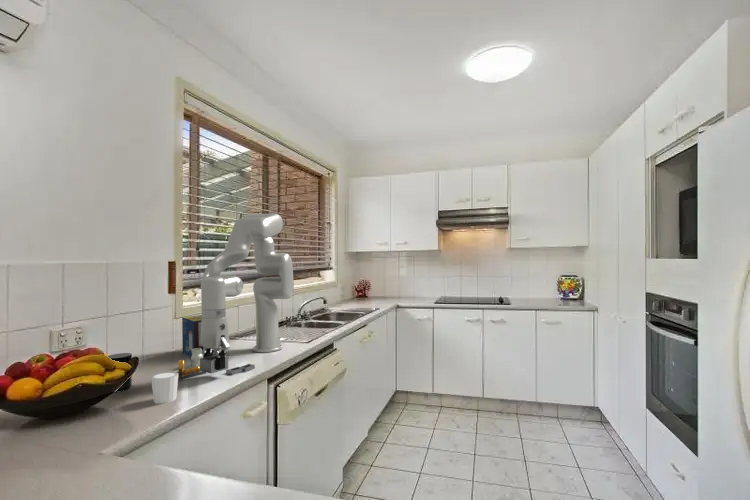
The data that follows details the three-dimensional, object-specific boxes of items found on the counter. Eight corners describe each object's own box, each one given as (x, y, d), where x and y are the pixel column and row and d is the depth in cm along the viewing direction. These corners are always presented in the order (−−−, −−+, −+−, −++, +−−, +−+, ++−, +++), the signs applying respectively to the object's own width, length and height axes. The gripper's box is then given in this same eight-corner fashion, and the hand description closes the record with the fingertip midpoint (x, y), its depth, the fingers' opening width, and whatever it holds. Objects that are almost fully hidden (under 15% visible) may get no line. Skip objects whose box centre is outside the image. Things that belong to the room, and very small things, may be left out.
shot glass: (184, 397, 113) (184, 372, 113) (164, 405, 107) (164, 379, 107) (165, 394, 115) (165, 370, 116) (145, 403, 109) (145, 377, 109)
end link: (217, 366, 136) (217, 354, 136) (228, 368, 132) (228, 356, 132) (199, 370, 131) (199, 358, 131) (211, 373, 127) (210, 361, 127)
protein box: (206, 348, 176) (206, 314, 176) (219, 354, 164) (219, 317, 165) (181, 352, 169) (181, 316, 169) (193, 359, 157) (193, 320, 158)
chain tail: (249, 366, 144) (249, 363, 144) (257, 368, 142) (257, 365, 142) (226, 373, 136) (226, 370, 136) (233, 375, 134) (233, 371, 134)
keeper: (195, 370, 141) (195, 354, 141) (206, 373, 137) (206, 357, 137) (164, 378, 132) (164, 361, 132) (175, 381, 128) (175, 364, 128)
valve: (204, 367, 144) (214, 359, 156) (204, 349, 145) (214, 343, 157) (186, 368, 144) (197, 360, 156) (186, 350, 144) (196, 343, 156)
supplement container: (133, 389, 121) (133, 355, 121) (106, 394, 116) (106, 359, 117) (130, 384, 126) (130, 351, 126) (105, 388, 122) (105, 355, 122)
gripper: (239, 314, 130) (239, 368, 129) (209, 311, 140) (209, 361, 139) (218, 317, 124) (219, 374, 123) (188, 313, 134) (189, 366, 133)
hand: (214, 367), depth 131 cm, fingers closed on end link, 6 cm apart
